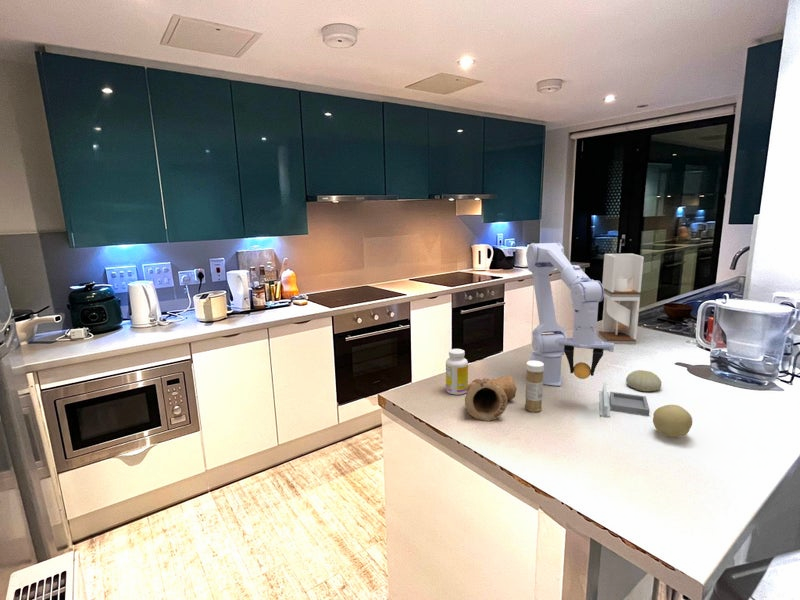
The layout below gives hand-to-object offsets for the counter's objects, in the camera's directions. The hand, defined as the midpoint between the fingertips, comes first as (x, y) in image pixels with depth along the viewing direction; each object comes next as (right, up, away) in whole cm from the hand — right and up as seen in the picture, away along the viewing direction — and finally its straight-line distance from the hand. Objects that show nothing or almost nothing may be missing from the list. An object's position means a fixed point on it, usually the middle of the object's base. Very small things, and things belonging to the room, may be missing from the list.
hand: (581, 373), depth 117 cm
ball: (0, +1, 0) cm, 1 cm away
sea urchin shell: (+24, -7, +13) cm, 28 cm away
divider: (+7, -9, +2) cm, 12 cm away
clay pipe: (-25, -10, +1) cm, 27 cm away
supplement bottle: (-33, -8, +13) cm, 36 cm away
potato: (+15, -13, -15) cm, 25 cm away
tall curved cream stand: (+39, +4, +59) cm, 71 cm away
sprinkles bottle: (-13, -10, 0) cm, 17 cm away
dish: (+13, -9, +1) cm, 16 cm away
